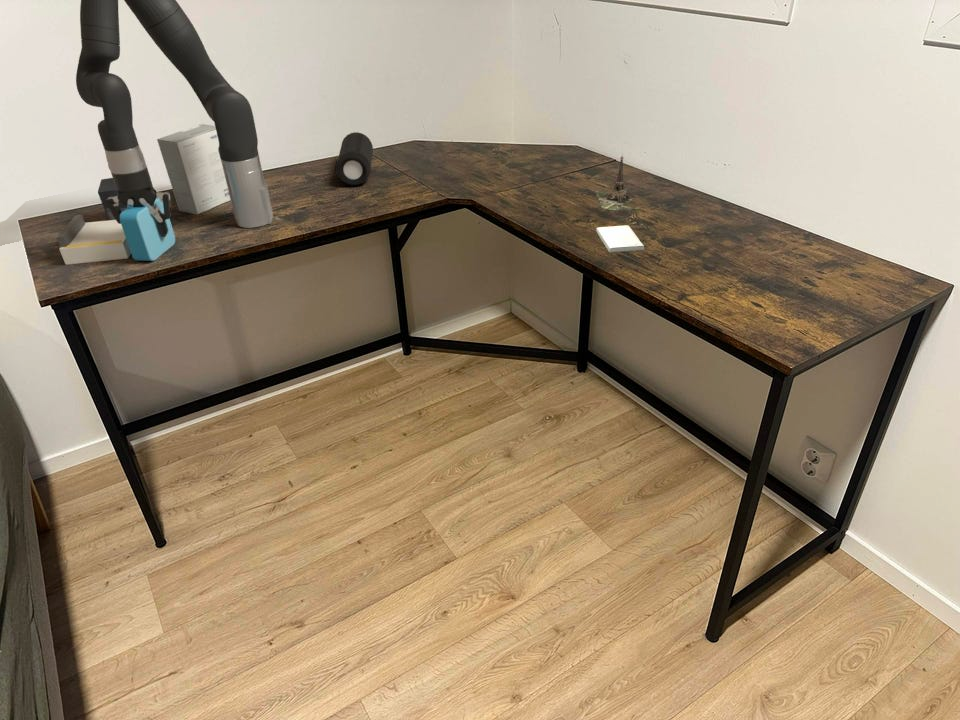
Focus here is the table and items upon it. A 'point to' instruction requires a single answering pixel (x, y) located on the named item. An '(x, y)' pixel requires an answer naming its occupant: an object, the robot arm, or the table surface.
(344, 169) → the portable speaker
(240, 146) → the robot arm
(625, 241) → the hard drive
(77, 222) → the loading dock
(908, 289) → the table surface
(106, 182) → the small box
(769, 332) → the table surface
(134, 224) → the data package
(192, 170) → the hard drive box
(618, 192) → the eiffel tower figurine
